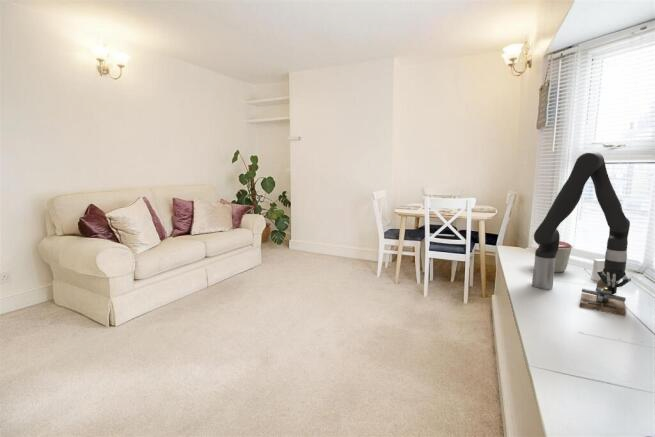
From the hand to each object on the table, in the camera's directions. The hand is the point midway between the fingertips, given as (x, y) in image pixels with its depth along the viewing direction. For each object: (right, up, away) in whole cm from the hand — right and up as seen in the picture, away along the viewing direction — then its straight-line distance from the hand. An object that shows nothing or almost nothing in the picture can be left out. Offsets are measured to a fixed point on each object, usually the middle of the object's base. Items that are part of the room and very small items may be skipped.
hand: (611, 293), depth 152 cm
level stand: (-6, -5, -1) cm, 8 cm away
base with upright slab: (+22, 0, +31) cm, 38 cm away
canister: (+7, +3, +50) cm, 50 cm away
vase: (+8, -3, +14) cm, 16 cm away
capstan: (-6, -4, -1) cm, 7 cm away
